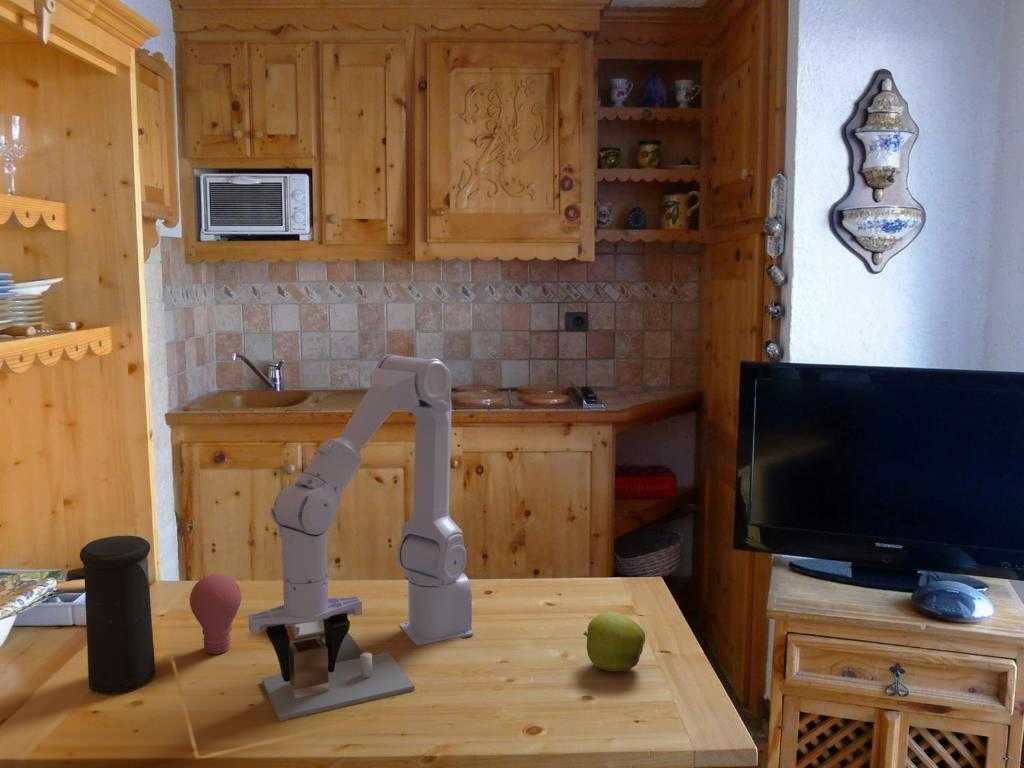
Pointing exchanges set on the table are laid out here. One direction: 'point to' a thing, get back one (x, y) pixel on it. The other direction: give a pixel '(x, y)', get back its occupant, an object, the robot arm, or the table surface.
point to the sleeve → (308, 667)
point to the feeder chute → (308, 629)
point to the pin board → (342, 686)
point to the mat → (347, 649)
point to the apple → (614, 641)
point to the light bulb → (215, 609)
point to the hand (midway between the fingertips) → (308, 673)
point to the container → (118, 614)
